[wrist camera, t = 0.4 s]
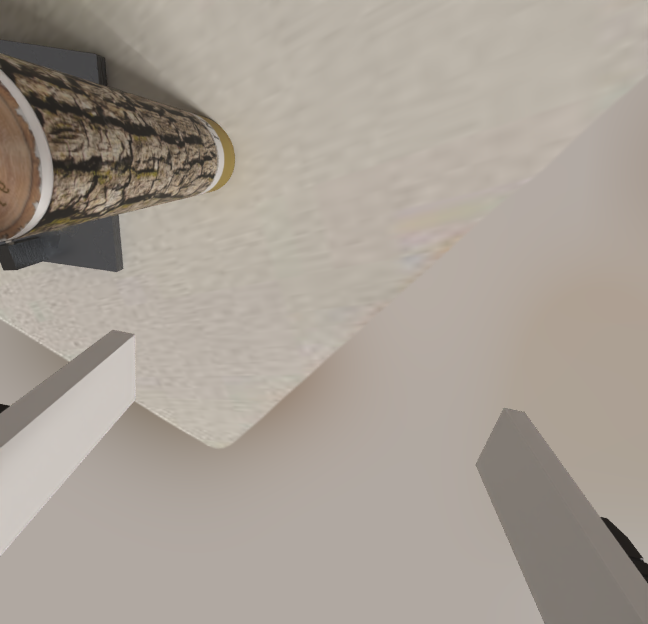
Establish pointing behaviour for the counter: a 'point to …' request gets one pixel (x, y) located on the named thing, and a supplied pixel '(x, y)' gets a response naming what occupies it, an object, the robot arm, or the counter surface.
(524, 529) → the robot arm
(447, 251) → the counter surface
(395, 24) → the counter surface
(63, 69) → the housing
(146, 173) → the bark textured cylinder
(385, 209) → the counter surface
